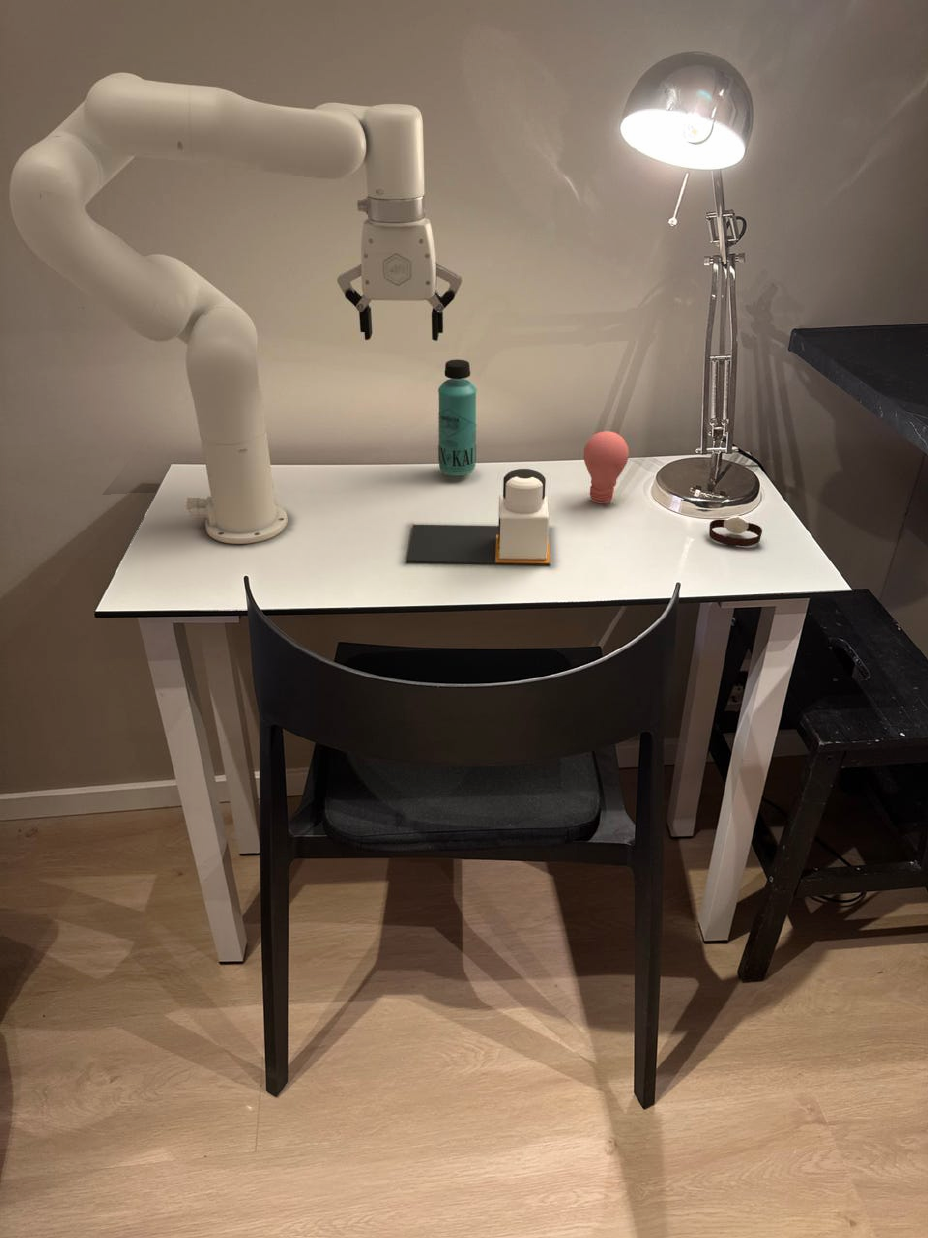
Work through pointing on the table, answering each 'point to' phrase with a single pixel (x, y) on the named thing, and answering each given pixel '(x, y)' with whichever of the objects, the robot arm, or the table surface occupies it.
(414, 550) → the desk mat
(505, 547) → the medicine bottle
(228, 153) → the robot arm
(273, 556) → the table surface
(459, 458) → the beverage bottle
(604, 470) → the light bulb
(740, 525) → the watch
